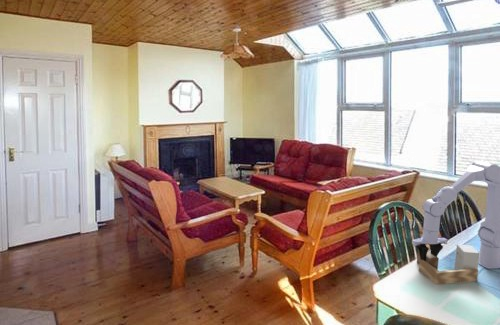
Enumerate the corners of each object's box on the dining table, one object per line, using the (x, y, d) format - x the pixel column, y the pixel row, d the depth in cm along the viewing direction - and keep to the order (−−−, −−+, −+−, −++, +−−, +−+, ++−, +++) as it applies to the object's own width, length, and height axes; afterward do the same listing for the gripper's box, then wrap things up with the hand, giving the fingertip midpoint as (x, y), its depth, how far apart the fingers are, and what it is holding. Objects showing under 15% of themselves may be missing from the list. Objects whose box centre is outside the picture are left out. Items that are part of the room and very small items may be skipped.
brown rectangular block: (424, 261, 157) (426, 249, 156) (437, 270, 149) (438, 257, 148) (416, 262, 156) (417, 250, 155) (428, 270, 148) (430, 258, 147)
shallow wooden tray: (456, 267, 151) (457, 257, 151) (476, 281, 140) (478, 270, 140) (418, 270, 148) (419, 259, 148) (436, 284, 138) (437, 272, 137)
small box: (476, 279, 142) (480, 253, 140) (460, 277, 143) (463, 251, 141) (468, 269, 150) (472, 245, 148) (453, 268, 151) (456, 243, 149)
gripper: (440, 225, 155) (437, 255, 157) (408, 226, 152) (405, 257, 155) (452, 231, 148) (448, 263, 150) (419, 232, 145) (416, 265, 148)
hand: (427, 260), depth 152 cm, fingers closed on brown rectangular block, 4 cm apart
